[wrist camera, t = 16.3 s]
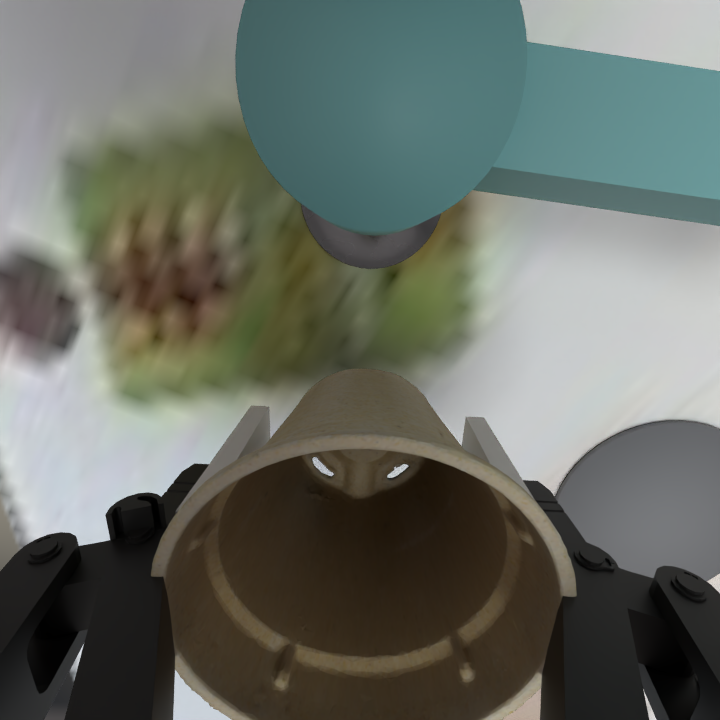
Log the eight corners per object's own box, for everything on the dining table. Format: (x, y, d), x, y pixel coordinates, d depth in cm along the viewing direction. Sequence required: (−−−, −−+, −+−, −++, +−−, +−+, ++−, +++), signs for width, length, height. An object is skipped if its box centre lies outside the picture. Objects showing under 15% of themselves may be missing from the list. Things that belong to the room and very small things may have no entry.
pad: (572, 415, 23) (575, 418, 22) (793, 425, 23) (800, 428, 22) (534, 588, 26) (537, 593, 26) (724, 598, 26) (729, 603, 26)
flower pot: (518, 387, 16) (677, 551, 8) (411, 549, 19) (443, 799, 10) (309, 287, 15) (231, 353, 7) (229, 474, 18) (103, 685, 9)
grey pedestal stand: (303, 116, 19) (217, -58, 8) (447, 122, 18) (553, -45, 8) (303, 264, 21) (234, 282, 10) (433, 270, 20) (503, 294, 10)
